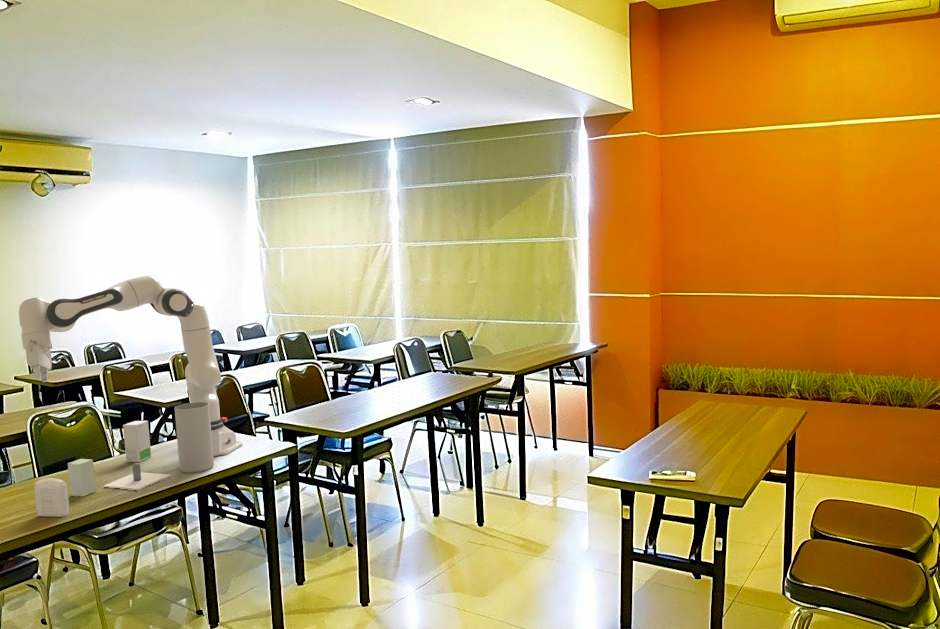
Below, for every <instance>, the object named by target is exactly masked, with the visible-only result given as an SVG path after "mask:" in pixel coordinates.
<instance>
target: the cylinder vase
mask: <svg viewBox="0 0 940 629" xmlns="http://www.w3.org/2000/svg"><path fill="white" fill-rule="evenodd" d="M174 417H175V419H174V420H175V429H176V439H177V440H176V441H177V452H178V453H177V454H178V465H179V471H180V472H182V473H185V474H186V473H187V474H194V473H195V474H196V473H202V472H205V471H208V470H210V469H211V468H213V467H214V465H215V463H214V456H213V448H212V436H211V423H210V411H209V403H207V402H193V403H190V402H186V403H182V404H178V405H176V406H174Z"/></svg>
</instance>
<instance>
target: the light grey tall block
mask: <svg viewBox="0 0 940 629" xmlns="http://www.w3.org/2000/svg"><path fill="white" fill-rule="evenodd" d="M94 469H95V468H94V459H90V458H89V459H88V458H79V459H76V460H74V461H71V462H67V471H68V479H69V488H70V496H71V497H78V496H80V498H84V497H86V495H87V496H89V495H91V494H90V493H92V494H93V492H94V493H96V492H97V490H96V489H97V488H96V479H95V478H96V477H95V470H94ZM95 491H96V492H95ZM88 494H89V495H88ZM81 496H82V497H81ZM83 496H84V497H83Z"/></svg>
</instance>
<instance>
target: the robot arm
mask: <svg viewBox="0 0 940 629" xmlns="http://www.w3.org/2000/svg"><path fill="white" fill-rule="evenodd" d="M147 304H149V305H150V306H151V307H152V309H153V310H154V311H155V312H156V313H158V314H160V315H164V316H167V317H172V316H174V317H177V318H178V320H179V324H180V329H181V330H180V331H181V337H182V342H183V349H184V352H185V355H186V358H187V362H188V363H187V365H186V366H185V368H184V369H185V370H184V375H185V382H186V387H187V392H188V393H187V394H188V396H189V401H190V402H189V403H193V402H207V403H209V411H210V423H211V436H212V448H213V457H217V456H223V455H228V454H230V453H233V451H235V450H237V449H238V448H239V447H241V446H243V442H242V441H237V437H236V433H235V432H234V431H233V430H231V429H229V428H228V427H227V426H225V425H224V423H227V422H228V417H224V416H223V417H221V415H220V414H221V413H220V400H219V398H218V394H217V390H216V387H217V386H218V385H220V382H221V380H222V373H221V371H220V368H219V362H218V358H217V356H216V353H215V349H214V344H213V339H212V333H211V327H210V321H209V316H208V314H207V310H206V307H205V306H204V304H203V303H201V302H197V301H193V300H192V299H191V298H190V297H189V295H188V294H187V293H186V291H184V290H182V289H180V288H173V287H165V288H164V287H163V286H162V284H161V282H160V281H159V279H158V278H157V277H155V276H154V275H144V276H138V277H133V278H130V279H127V280H124V281H120V282H119V283H116V284H114V285H112V286H110V287H108V288H106V289H104V290H102V291H98V292H96V293H91V294H88V295H86V296H83V297H79V298H58V299H55V300H54V301H52V302H51V301H48V300H46V299H44V298H42V297H33V298H29V299H25V300H24V301H22V302H21V303H20V305H19V309H18V317H19V318H18V320H19V326H20V327H21V343H22V349H23V350H25V356H26V364H27V366H29V367H31V368H32V371H33V372H32V373H33V375H34V379H35V380H41V383H46V382H49V380H48V375H49V371H51V370H52V365H53V361H52V349H53V344H52V341H51V339H52V338H51V333H54V332H55V333H65V332H68V331H70V330H72V329H73V327H74V326H75V325H76V323H77V321H78V320H79V319H80V318H81V317H83V316H86V315H88V314H91V313H95V312H97V311H101V310H105V309H113V310H115V311H117V312H124V311H129V310H133V309H136V308H139V307H141V306H143V305H147Z"/></svg>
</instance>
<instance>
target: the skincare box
mask: <svg viewBox="0 0 940 629" xmlns="http://www.w3.org/2000/svg"><path fill="white" fill-rule="evenodd" d="M122 429H123V440H124V448H125V449H124V450H125V451H124V452H125V461H128V462H127V463H140V462H142V461H145V460H147V458H148V459H149V457H150V458H151V457H152V451H151V450H152V449H151V442H150V441H151V440H150V429H149V420H134V421H131V422H127V423H125V424H123V425H122Z"/></svg>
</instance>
